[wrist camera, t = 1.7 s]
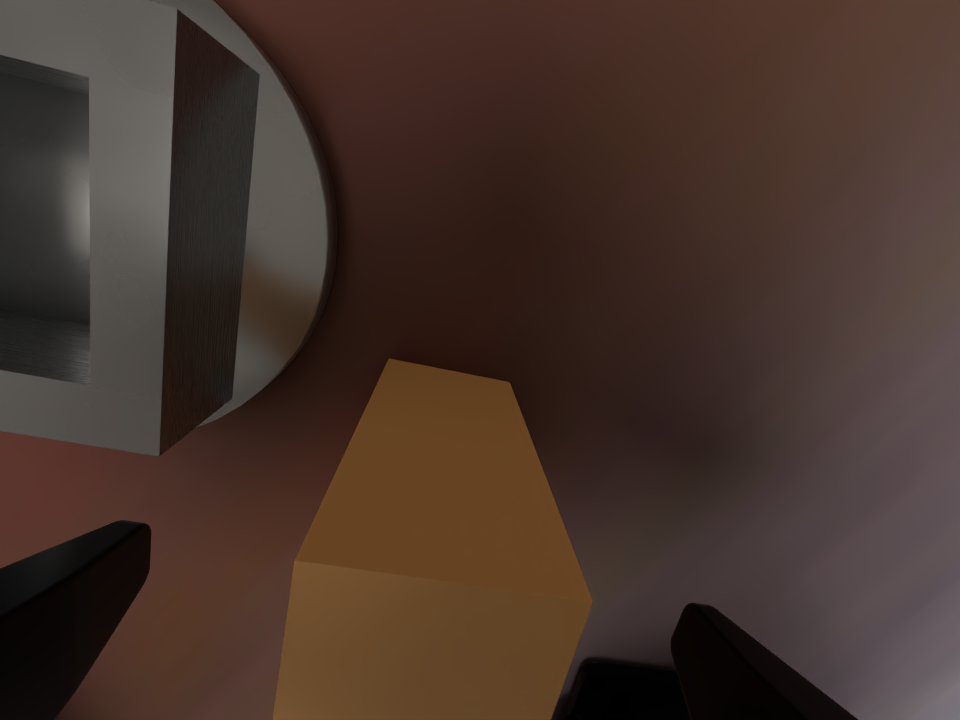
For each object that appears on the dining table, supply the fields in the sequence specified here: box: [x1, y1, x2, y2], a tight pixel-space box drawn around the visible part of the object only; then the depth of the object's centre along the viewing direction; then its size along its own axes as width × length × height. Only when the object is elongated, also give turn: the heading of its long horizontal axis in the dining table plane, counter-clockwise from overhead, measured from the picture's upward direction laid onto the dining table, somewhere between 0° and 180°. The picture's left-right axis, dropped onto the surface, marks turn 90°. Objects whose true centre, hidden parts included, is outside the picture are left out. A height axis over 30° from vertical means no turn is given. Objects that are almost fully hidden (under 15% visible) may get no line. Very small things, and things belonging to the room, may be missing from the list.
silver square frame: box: [0, 0, 338, 456], centre depth 9 cm, size 11×11×4 cm
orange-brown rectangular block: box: [273, 358, 593, 720], centre depth 10 cm, size 4×4×8 cm
